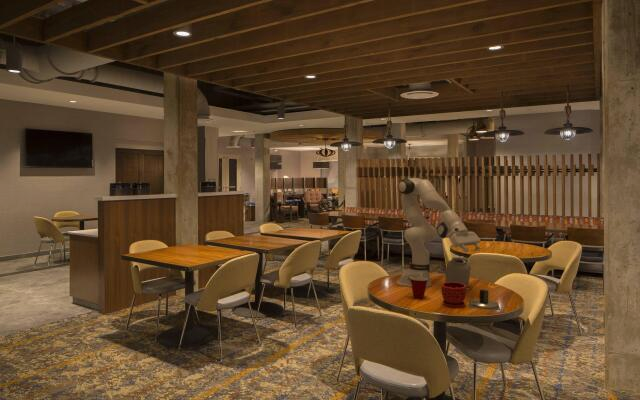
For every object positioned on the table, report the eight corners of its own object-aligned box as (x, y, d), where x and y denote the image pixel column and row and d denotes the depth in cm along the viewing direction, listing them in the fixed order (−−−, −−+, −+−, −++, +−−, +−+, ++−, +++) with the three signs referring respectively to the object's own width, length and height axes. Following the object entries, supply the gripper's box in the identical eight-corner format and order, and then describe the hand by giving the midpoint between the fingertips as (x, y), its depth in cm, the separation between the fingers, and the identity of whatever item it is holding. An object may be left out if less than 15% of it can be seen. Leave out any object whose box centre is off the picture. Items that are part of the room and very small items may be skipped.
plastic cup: (430, 296, 272) (430, 277, 271) (424, 301, 262) (425, 280, 262) (412, 294, 277) (413, 275, 277) (406, 298, 268) (407, 278, 267)
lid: (465, 303, 256) (465, 288, 256) (483, 300, 263) (483, 286, 262) (484, 309, 244) (484, 294, 243) (502, 306, 250) (503, 291, 250)
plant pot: (438, 302, 259) (438, 281, 259) (460, 302, 260) (460, 281, 260) (446, 309, 246) (446, 287, 246) (469, 308, 247) (470, 287, 247)
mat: (469, 308, 248) (469, 307, 248) (468, 300, 263) (468, 300, 263) (500, 310, 243) (500, 310, 243) (497, 302, 259) (497, 302, 259)
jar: (475, 291, 286) (476, 251, 284) (452, 291, 284) (453, 251, 283) (463, 283, 304) (463, 246, 303) (441, 284, 303) (442, 247, 302)
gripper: (468, 233, 280) (481, 251, 272) (445, 236, 269) (457, 255, 261) (474, 227, 275) (487, 245, 268) (450, 229, 265) (463, 249, 257)
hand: (472, 250), depth 265 cm, fingers open, 8 cm apart
